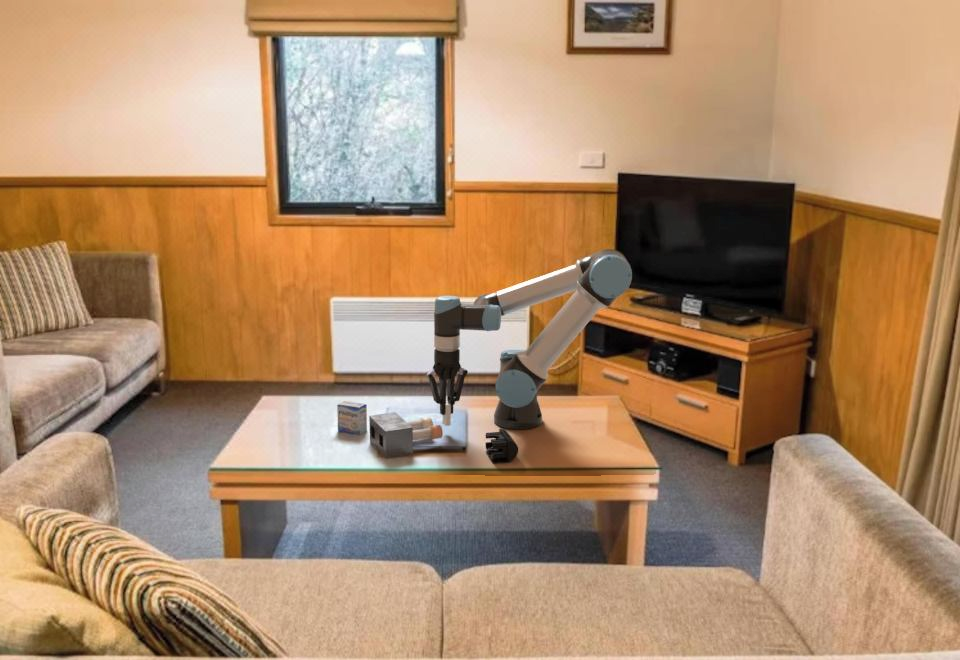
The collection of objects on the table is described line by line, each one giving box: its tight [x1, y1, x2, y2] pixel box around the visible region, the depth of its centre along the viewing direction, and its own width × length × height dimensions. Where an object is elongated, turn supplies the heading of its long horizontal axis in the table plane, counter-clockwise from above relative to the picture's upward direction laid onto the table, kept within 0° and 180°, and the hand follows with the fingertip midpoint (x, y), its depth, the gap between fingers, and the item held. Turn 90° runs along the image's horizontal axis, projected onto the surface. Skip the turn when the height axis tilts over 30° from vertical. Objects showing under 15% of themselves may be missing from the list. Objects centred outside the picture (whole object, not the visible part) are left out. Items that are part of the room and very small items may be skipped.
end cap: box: [485, 428, 519, 465], centre depth 240 cm, size 10×7×7 cm
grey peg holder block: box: [368, 411, 414, 459], centre depth 246 cm, size 8×14×8 cm, turn 25°
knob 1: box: [406, 416, 434, 431], centre depth 252 cm, size 15×4×4 cm, turn 115°
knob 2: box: [413, 424, 444, 441], centre depth 245 cm, size 15×4×4 cm, turn 115°
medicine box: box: [336, 400, 368, 436], centre depth 259 cm, size 8×4×9 cm, turn 68°
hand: (446, 424), depth 258 cm, fingers closed
